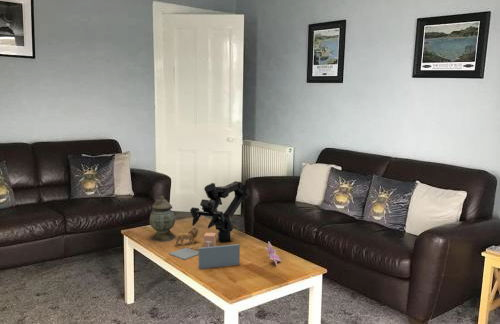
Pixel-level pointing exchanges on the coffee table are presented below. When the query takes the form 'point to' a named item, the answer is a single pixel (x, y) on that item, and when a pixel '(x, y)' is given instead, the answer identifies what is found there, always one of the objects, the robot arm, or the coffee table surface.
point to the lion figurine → (188, 236)
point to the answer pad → (184, 253)
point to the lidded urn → (162, 220)
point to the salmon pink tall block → (209, 239)
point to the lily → (272, 253)
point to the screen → (219, 256)
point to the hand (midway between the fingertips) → (200, 226)
